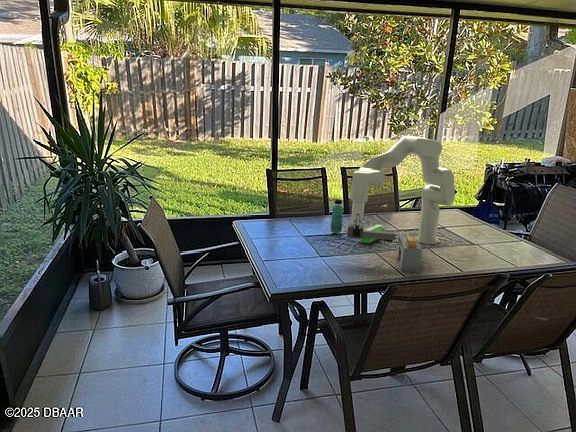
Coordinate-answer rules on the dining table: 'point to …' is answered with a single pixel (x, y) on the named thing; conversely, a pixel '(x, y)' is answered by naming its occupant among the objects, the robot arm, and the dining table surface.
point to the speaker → (373, 228)
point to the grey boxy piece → (409, 253)
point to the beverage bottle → (337, 217)
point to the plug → (370, 233)
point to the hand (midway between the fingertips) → (356, 234)
